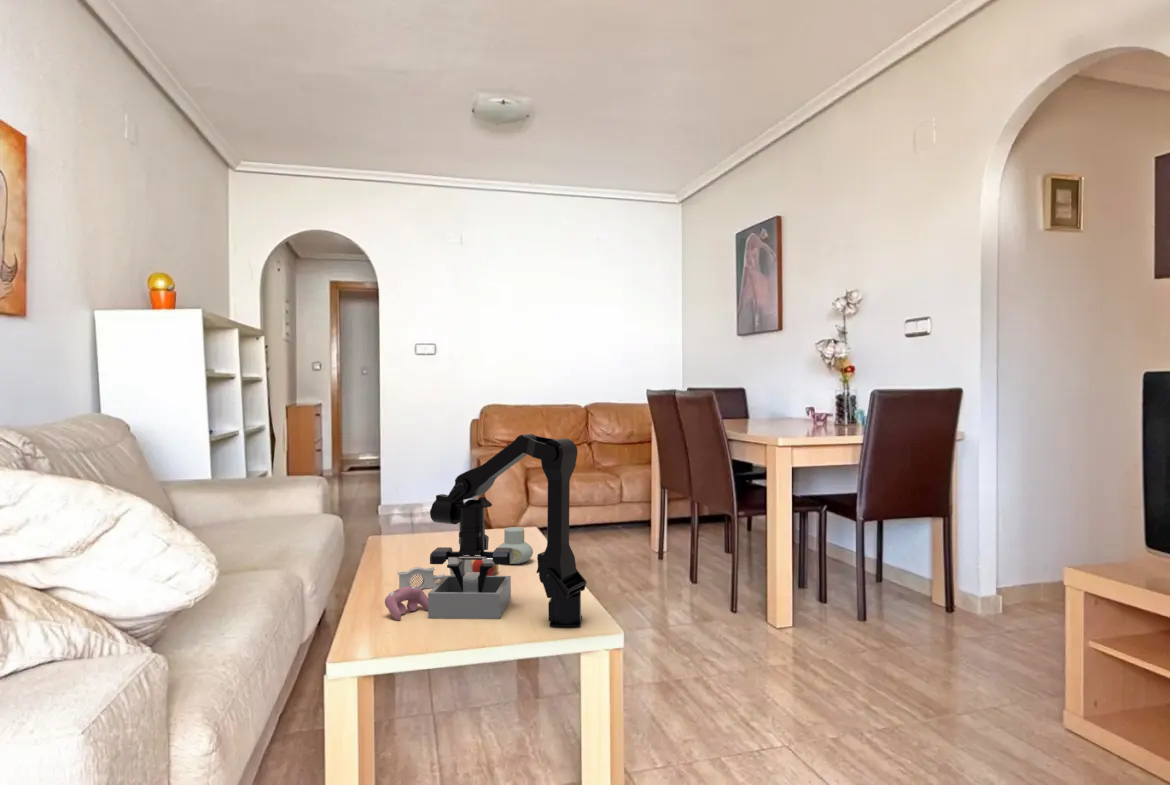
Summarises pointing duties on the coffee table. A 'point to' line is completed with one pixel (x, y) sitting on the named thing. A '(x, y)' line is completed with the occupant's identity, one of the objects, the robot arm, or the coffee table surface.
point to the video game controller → (403, 594)
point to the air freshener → (517, 545)
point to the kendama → (477, 564)
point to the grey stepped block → (471, 582)
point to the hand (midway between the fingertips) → (472, 592)
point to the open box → (469, 599)
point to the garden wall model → (426, 574)
